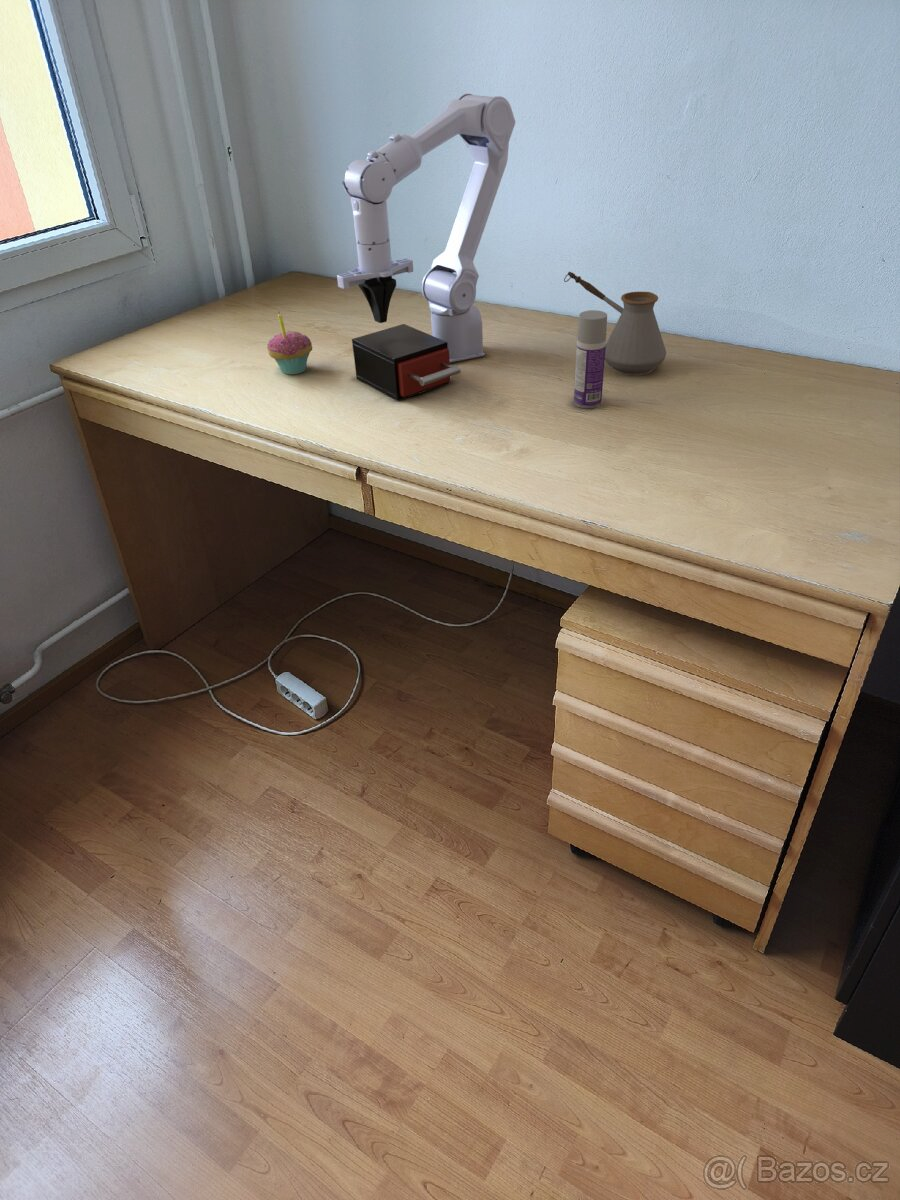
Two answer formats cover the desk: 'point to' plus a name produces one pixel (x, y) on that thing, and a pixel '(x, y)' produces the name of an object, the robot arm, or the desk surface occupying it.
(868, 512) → the desk surface
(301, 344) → the cupcake
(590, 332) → the container
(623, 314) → the coffee pot
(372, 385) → the black rectangular box
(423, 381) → the drawer
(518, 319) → the desk surface
